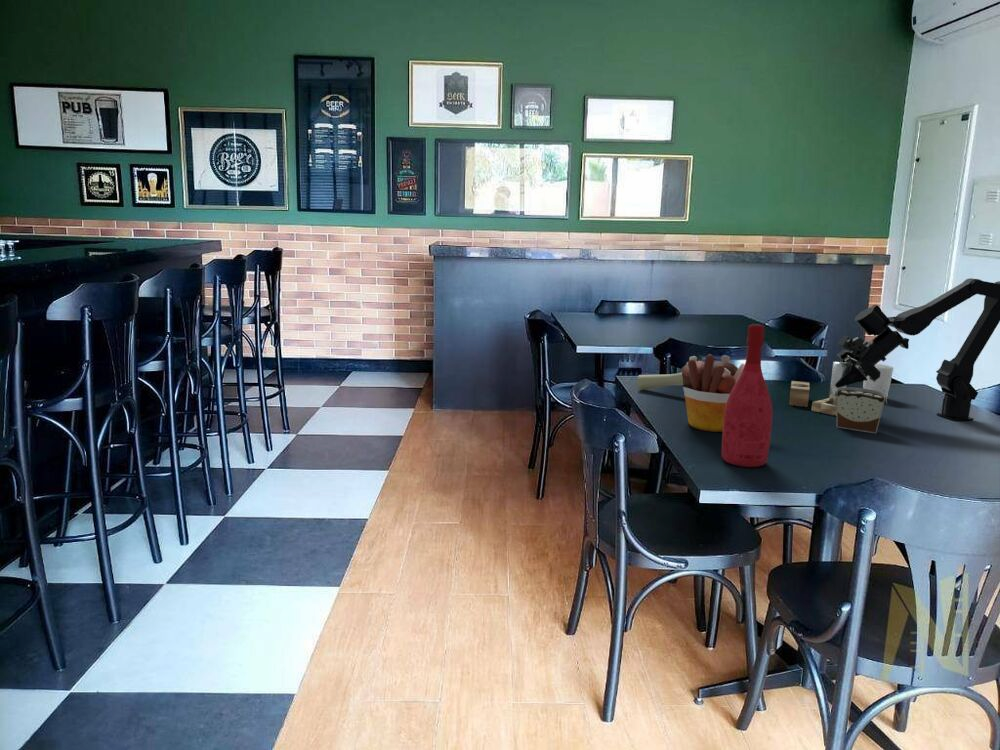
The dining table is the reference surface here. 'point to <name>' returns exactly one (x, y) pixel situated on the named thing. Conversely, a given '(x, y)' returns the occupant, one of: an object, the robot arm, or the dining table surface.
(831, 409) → the v cradle
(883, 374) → the white cup
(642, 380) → the flower vase
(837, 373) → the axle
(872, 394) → the food container
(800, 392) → the beam
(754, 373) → the wine bottle
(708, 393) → the bucket of meat
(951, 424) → the dining table surface
